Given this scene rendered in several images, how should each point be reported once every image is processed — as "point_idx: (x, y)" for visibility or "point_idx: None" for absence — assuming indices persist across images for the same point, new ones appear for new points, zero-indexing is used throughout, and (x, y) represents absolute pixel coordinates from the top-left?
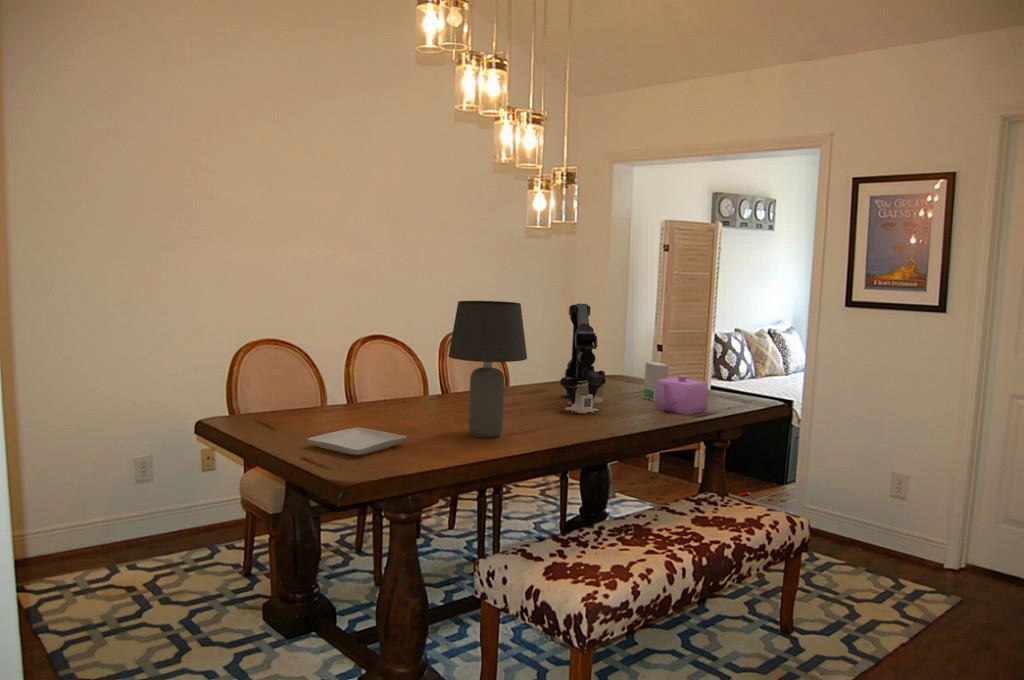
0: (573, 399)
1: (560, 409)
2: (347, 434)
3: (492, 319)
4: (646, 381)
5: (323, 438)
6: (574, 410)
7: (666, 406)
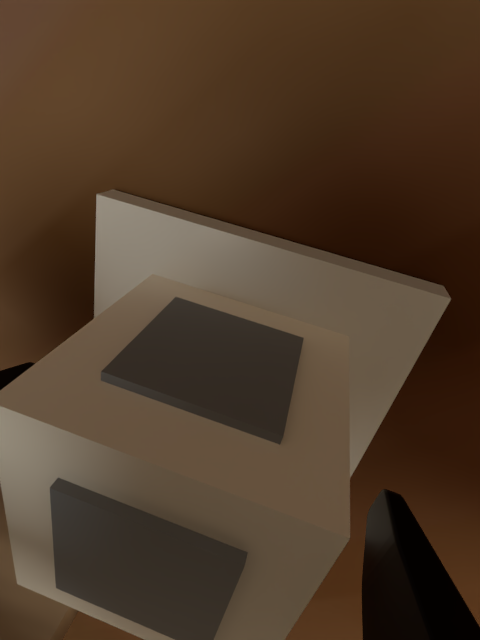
0: (447, 578)
1: (354, 536)
2: None
3: None
4: None
5: None
6: (382, 412)
7: None
